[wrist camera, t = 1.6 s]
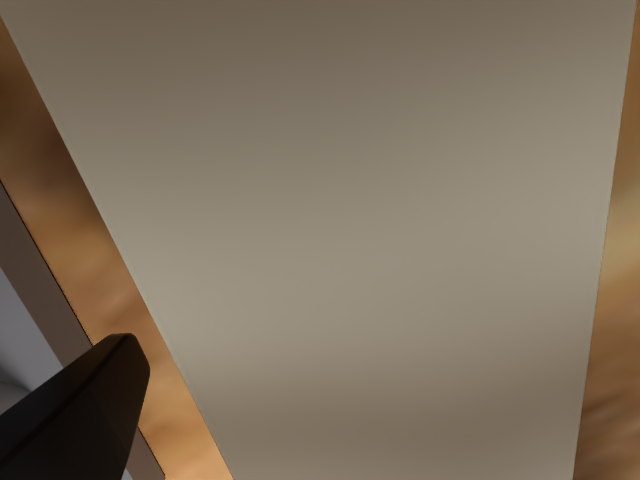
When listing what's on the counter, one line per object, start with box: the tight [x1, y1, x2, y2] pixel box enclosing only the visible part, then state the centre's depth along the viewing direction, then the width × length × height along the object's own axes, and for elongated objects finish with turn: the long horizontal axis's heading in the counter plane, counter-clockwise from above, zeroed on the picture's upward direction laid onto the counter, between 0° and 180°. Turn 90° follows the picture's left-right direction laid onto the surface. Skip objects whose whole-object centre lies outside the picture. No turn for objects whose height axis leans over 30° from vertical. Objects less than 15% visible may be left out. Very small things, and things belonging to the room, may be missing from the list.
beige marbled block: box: [0, 0, 637, 480], centre depth 8 cm, size 16×5×4 cm, turn 11°
